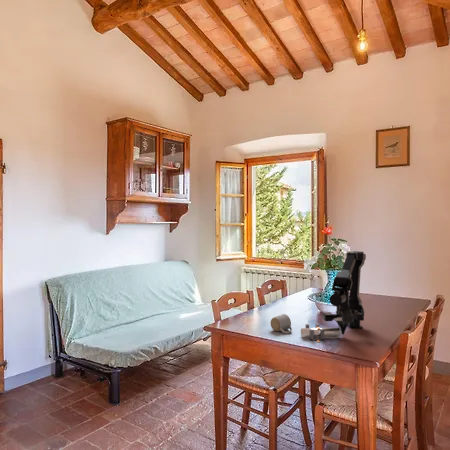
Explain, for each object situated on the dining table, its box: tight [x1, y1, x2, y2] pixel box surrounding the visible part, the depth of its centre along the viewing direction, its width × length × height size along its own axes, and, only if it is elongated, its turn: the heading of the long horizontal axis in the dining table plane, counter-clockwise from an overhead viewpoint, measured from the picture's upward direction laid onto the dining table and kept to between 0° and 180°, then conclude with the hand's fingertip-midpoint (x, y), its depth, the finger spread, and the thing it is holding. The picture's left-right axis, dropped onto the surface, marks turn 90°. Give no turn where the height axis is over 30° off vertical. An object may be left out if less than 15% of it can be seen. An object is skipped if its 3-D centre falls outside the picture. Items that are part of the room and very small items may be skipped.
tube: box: [300, 326, 341, 340], centre depth 178 cm, size 18×4×5 cm, turn 94°
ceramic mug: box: [270, 313, 293, 335], centre depth 187 cm, size 11×8×8 cm
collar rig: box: [305, 323, 325, 343], centre depth 178 cm, size 15×6×5 cm, turn 2°
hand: (342, 334), depth 178 cm, fingers closed
